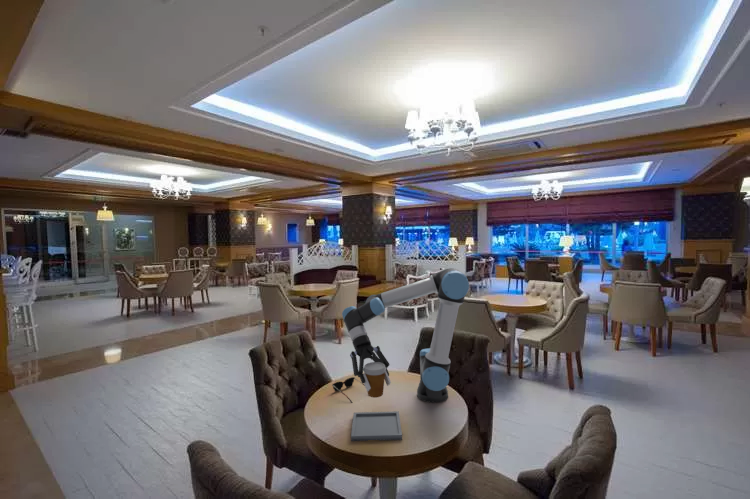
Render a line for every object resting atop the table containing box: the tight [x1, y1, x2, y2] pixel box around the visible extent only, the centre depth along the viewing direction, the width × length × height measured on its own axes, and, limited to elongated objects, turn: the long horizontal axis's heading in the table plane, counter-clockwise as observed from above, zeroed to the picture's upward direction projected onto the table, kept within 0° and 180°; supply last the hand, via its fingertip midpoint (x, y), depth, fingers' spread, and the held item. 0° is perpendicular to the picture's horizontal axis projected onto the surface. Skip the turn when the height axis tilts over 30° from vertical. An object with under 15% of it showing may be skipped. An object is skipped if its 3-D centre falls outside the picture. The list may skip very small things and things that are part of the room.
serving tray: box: [350, 410, 403, 442], centre depth 147 cm, size 20×18×2 cm
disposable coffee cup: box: [363, 361, 386, 398], centre depth 147 cm, size 10×10×12 cm
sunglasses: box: [331, 376, 365, 404], centre depth 179 cm, size 14×16×5 cm
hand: (379, 387), depth 144 cm, fingers closed on disposable coffee cup, 9 cm apart
